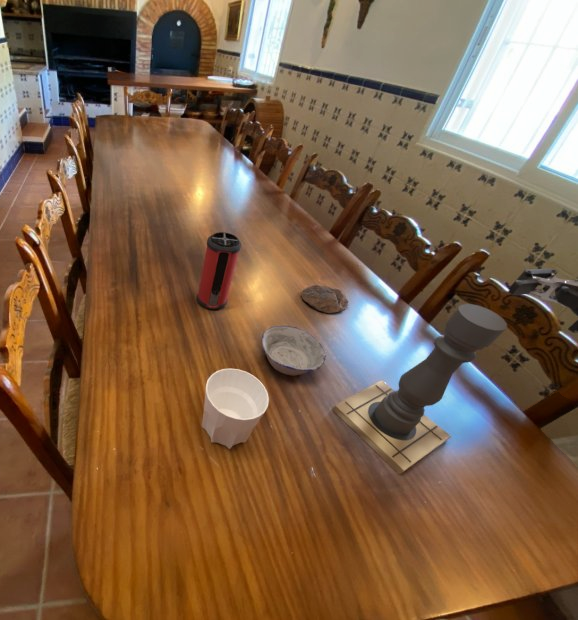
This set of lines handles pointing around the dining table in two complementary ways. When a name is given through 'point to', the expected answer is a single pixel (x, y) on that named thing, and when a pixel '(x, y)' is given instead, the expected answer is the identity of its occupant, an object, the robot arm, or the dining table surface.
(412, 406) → the candle holder
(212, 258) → the speaker
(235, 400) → the cup
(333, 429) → the dining table surface
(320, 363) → the bowl
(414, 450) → the board
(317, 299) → the rock
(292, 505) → the dining table surface
